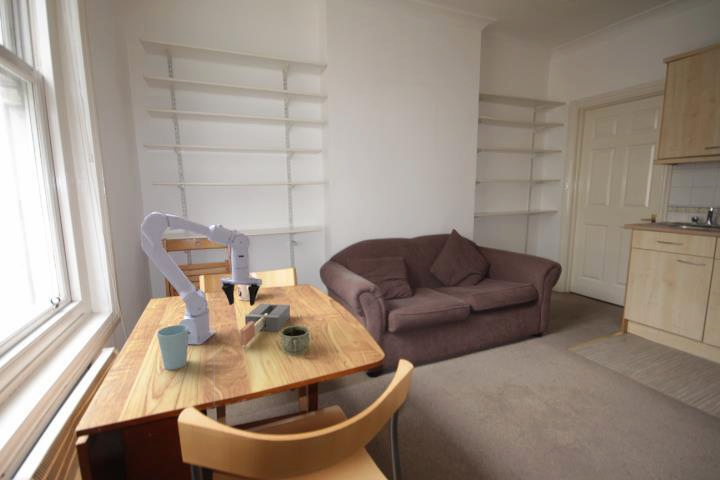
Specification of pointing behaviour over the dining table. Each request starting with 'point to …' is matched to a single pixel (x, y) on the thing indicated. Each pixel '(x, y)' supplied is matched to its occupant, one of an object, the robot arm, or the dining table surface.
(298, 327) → the vessel
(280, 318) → the dispenser
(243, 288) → the teacup with lid
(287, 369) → the dining table surface
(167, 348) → the cup
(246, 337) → the cream pillar on pink
